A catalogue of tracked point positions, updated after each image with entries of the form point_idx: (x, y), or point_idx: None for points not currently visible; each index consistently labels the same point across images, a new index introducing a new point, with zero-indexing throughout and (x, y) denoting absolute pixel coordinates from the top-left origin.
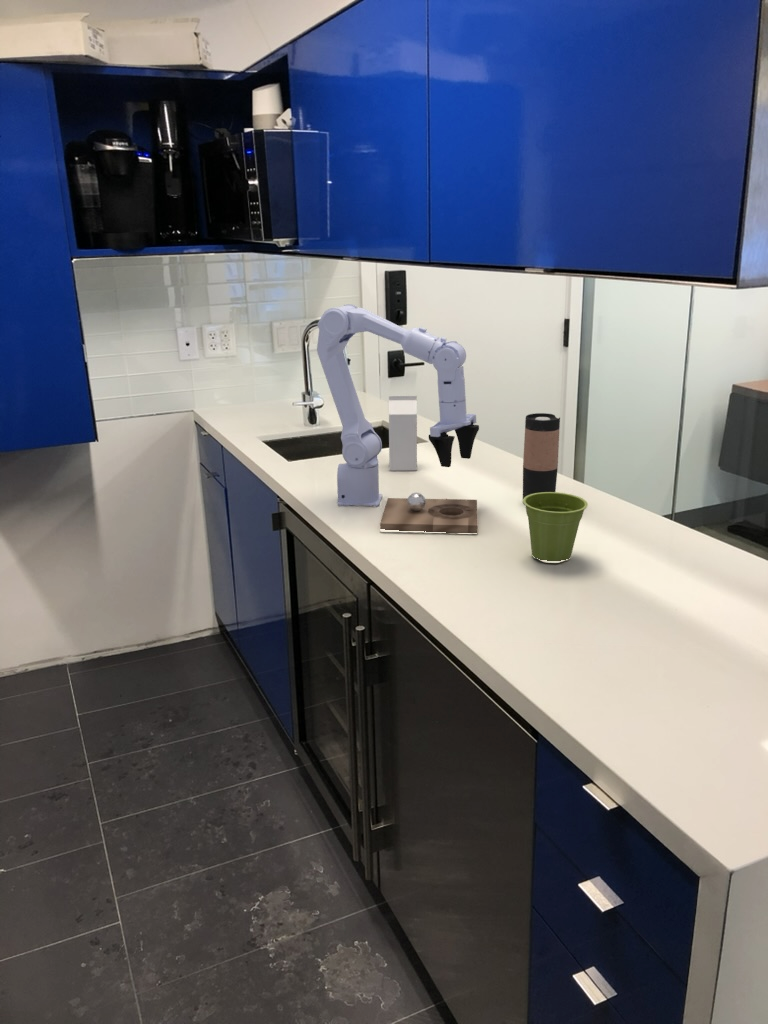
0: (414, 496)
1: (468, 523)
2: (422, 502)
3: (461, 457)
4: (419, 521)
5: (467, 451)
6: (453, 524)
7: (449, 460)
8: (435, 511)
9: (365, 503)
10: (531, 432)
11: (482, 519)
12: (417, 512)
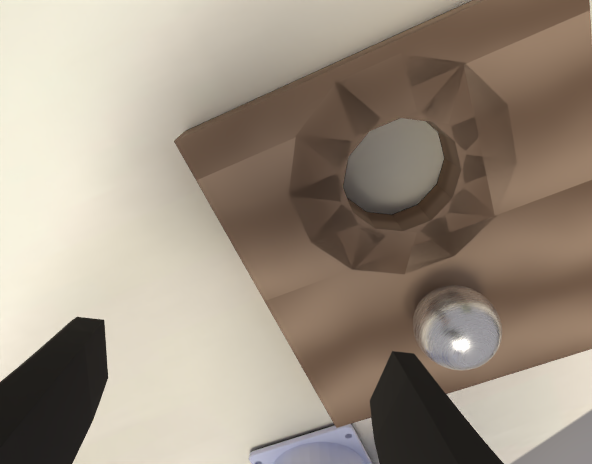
0: (495, 347)
1: (561, 21)
2: (481, 300)
3: (106, 380)
4: (568, 240)
5: (69, 387)
6: (586, 90)
7: (446, 397)
8: (424, 238)
9: (357, 453)
10: None
11: (322, 36)
12: None
